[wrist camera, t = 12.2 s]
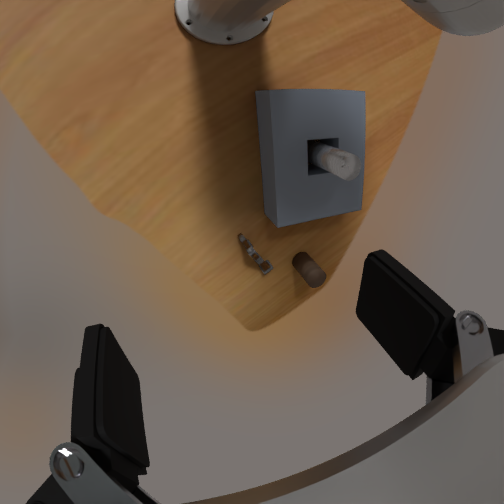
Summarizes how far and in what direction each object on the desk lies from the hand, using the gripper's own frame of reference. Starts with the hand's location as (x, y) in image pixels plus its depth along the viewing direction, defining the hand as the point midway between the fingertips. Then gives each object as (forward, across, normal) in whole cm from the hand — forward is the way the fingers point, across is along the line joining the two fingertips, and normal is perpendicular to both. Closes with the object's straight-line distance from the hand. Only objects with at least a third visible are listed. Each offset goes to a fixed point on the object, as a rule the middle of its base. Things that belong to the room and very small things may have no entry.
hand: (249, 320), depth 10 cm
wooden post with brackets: (+31, -8, +17) cm, 36 cm away
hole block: (+30, -18, +2) cm, 35 cm away
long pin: (+30, -18, +2) cm, 35 cm away
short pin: (+30, -17, +21) cm, 41 cm away
